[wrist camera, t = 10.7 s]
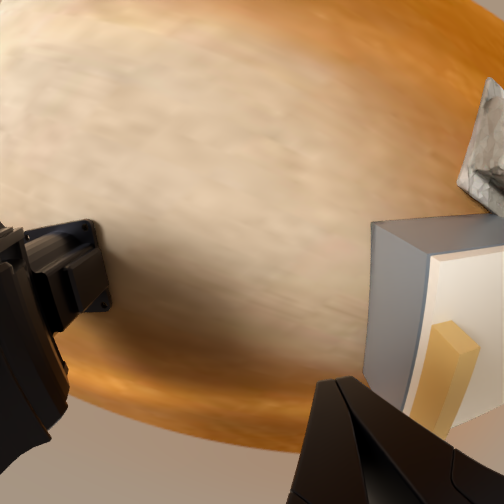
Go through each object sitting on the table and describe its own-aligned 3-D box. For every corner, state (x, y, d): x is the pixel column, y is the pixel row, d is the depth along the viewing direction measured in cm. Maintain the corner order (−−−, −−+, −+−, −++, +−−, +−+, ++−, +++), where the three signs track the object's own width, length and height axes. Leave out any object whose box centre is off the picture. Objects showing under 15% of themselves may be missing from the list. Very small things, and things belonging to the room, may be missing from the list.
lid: (394, 438, 15) (411, 475, 12) (430, 255, 12) (475, 283, 9) (513, 390, 15) (534, 414, 12) (556, 236, 12) (592, 252, 9)
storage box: (362, 372, 22) (392, 434, 16) (370, 221, 19) (426, 253, 12) (469, 344, 22) (511, 388, 15) (489, 213, 19) (552, 235, 12)
